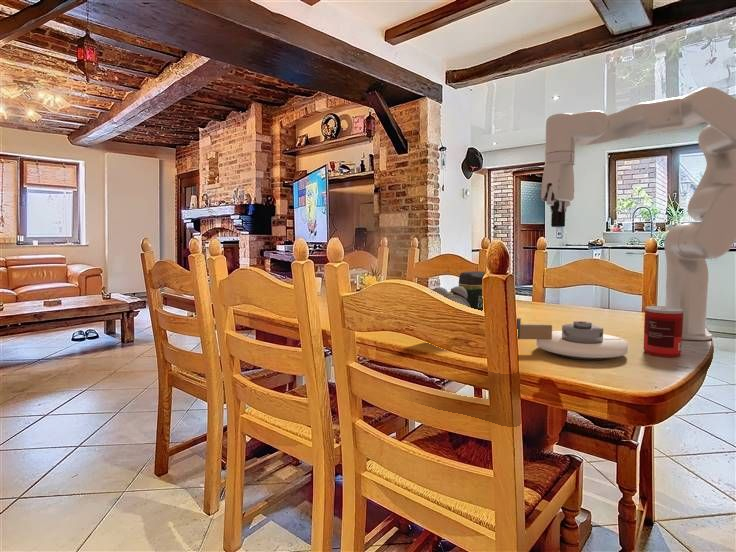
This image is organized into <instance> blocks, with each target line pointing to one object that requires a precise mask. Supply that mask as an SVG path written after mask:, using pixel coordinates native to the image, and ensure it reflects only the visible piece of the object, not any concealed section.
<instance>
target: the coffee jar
mask: <svg viewBox="0 0 736 552" xmlns="http://www.w3.org/2000/svg"><path fill="white" fill-rule="evenodd" d="M485 272H486V271H480V270H474V271H473V270H472V271H464V272H461V273H460V275H459V278H458V279H459V280H458V286H460V287H461V286H463V287H464V289H465V290H466V291H467V294H468V297H467V299H466V300H467V302H468V303H469V305H470V307H471V308H474V309H478V310H481V311H482V310H483V298H482V278H483V276H484V274H485Z"/></svg>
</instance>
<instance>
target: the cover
mask: <svg viewBox="0 0 736 552" xmlns="http://www.w3.org/2000/svg"><path fill="white" fill-rule="evenodd" d="M561 331H562V339H563V340H565V341H568V342H573V343H581V344H598V343H602V342H603V334H604V328H603V327H601V326H598V325H594V324H593V323H592V322H590V321H584V320H576V321H573V323H567V324H563V325H561Z"/></svg>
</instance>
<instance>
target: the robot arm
mask: <svg viewBox="0 0 736 552" xmlns="http://www.w3.org/2000/svg"><path fill="white" fill-rule="evenodd" d="M703 123H707V124H706V125H707V126H705V127H704V128H703V129H701V131H700V133H699V135H698V139H697V140H698V141H697V142H698V147H699V148H700V151H701V152H702V153H703V156H704V158H705V161H706V166H705V167H706V168H705V170H704V173H703V175H702V177H701V179H700V181H699V183H698V185H697V186H696V188H695V190H694V192H693V194H692V196H691V198H690V199H689V201H688V204H687V214H688V215H689V217H691V218H692V219H693V220H696V221H699V222H687V223H686V222H685V223H680V224H677V225H675V226H673V227H672V228H671V229H669V230H668V232H667V233H666V235H665V237H664V244H663V245H664V247H663V248H664V253H665V261H666V281H665V282H666V284H665V298H664V299H665V300H664V301H665V304H664V306H667V307H675V308H680V309H683V328H682V340H685V341H710V340H712V339H713V334H712V333H711V332H708V331H706V329H707V327H706V326H707V325H706V324H707V311H708V310H707V308H708V307H707V306H708V290H709V289H708V288H709V268H708V263H707V261H706V259H707V260H708V259H709V260H710V259H711V260H712V259H717V258H720V257H722V256H724V255H725V254H727V252H728V251H730V250H731V248H732V247H733V245H734V243H735V242H736V98H735V97H733V96H732V95H730V94H729V93H727V92H725V91H724V90H721V89H719V88H716V87H712V86H705V87H704V86H703V87H701V88H698V89H697V90H694V91H691V92H690V93H688V94H686V95H683V96H677V97H670V98H665V99H658V100H652V101H646V102H644V101H643V102H639V103H637V104H634V105H631V106H629V107H627V108H624V109H622V110H620V111H617V112H614V113H610V114H607V113H605V112H604V111H601V110H588V111H582V112H576V113H570V112H569V113H568V112H561V113H560V112H559V113H555V114H552V115H550V116H548V117H547V119H546V121H545V152H544V153H545V154H544V156H545V161H544V163H545V164H544V168H543V173H542V178H541V179H542V181H541V193H540V194H541V195H540V198H541V200H542V201H543V202H546V205H548V206H549V207H550V213H551V218H550V221H551V222H550V226H551V227H552V228H560V227H561V228H562V227H565V226H566V213H567V208H568V207H570V206H571V202H572V201H573V199H574V197H575V175H574V174H575V173H574V166H575V158H576V156H575V155H576V154H575V153H576V152H575V150H576V149H575V148H576V146H577V147H580V146H581V147H584V146H591V145H598V144H603V143H610V142H614V141H618V140H625V139H631V138H636V137H640V136H646V135H651V134H658V133H664V132H673V131H678V130H685V129H689V128H693V127H696V126H698V125H701V124H703Z"/></svg>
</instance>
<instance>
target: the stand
mask: <svg viewBox="0 0 736 552" xmlns="http://www.w3.org/2000/svg"><path fill="white" fill-rule="evenodd" d="M550 353H551V354H552V355H555V356H558V357H561V358H565V359H571V360H578V361H605V360H610V359H612V358H613V357H610V358H588V357H576V356H569V355H562V354H557V353H553V352H550Z"/></svg>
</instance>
